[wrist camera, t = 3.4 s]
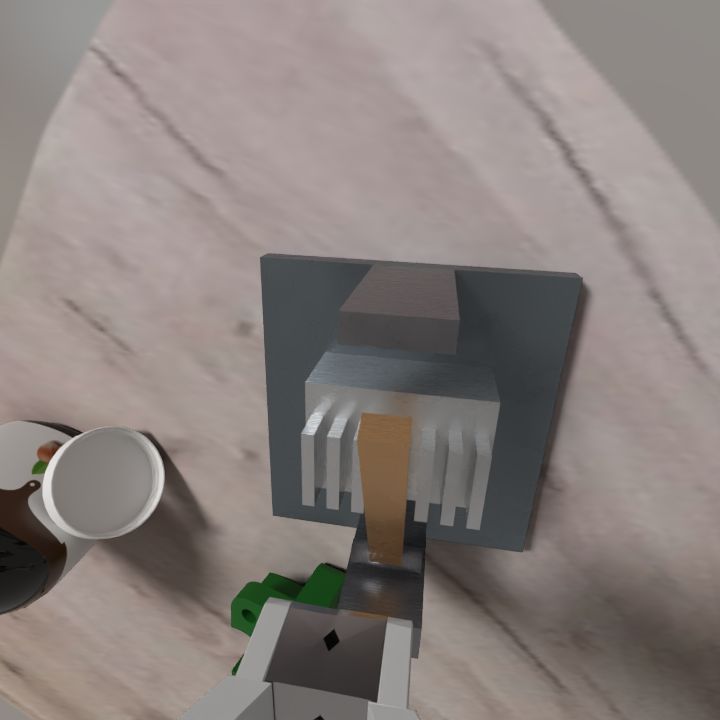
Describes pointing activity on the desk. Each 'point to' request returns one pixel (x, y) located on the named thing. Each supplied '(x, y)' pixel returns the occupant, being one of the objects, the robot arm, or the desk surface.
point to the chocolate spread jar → (67, 499)
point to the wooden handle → (385, 493)
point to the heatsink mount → (412, 399)
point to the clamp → (284, 596)
